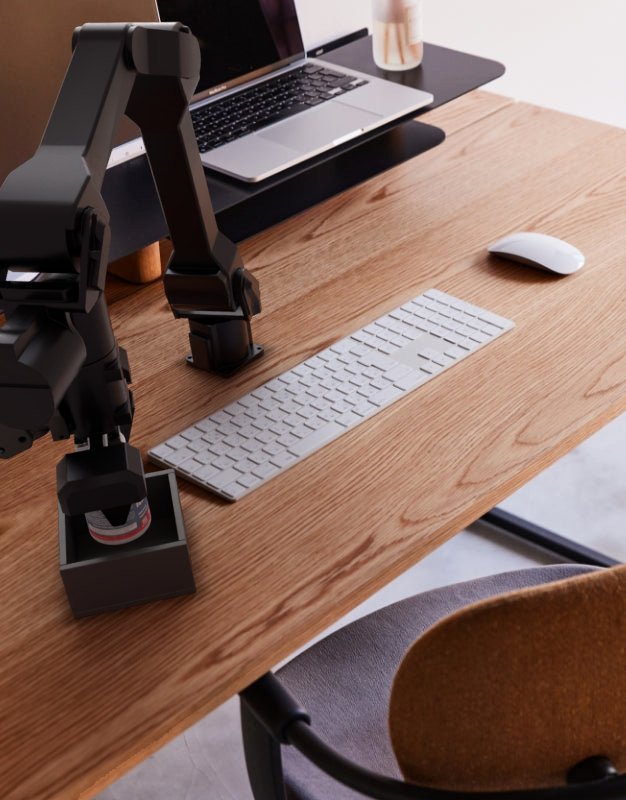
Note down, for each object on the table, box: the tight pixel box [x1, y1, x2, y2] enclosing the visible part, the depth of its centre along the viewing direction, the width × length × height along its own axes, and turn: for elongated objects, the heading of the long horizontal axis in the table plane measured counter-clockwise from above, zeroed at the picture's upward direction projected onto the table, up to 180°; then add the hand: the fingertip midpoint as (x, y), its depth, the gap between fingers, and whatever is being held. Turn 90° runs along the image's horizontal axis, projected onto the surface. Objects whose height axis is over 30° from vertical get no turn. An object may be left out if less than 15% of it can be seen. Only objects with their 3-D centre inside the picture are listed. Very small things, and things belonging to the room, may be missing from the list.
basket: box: [56, 468, 197, 620], centre depth 92 cm, size 10×10×6 cm
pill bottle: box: [74, 433, 151, 545], centre depth 88 cm, size 5×5×9 cm
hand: (116, 502), depth 89 cm, fingers closed on pill bottle, 5 cm apart
